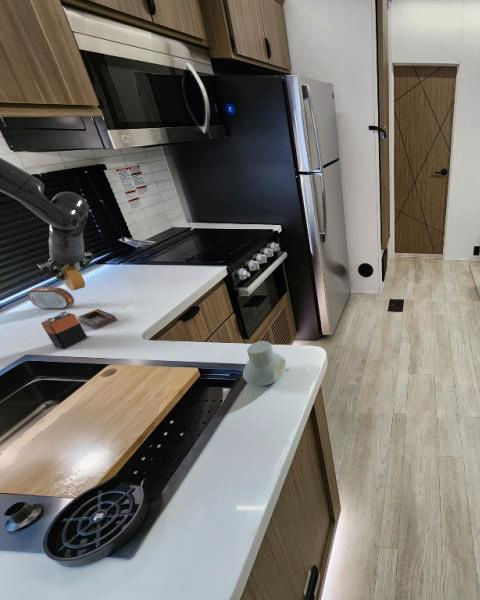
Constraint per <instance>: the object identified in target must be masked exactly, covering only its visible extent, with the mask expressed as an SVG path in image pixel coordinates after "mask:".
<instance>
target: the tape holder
mask: <svg viewBox="0 0 480 600" xmlns="http://www.w3.org/2000/svg"><path fill="white" fill-rule="evenodd" d="M96 317H100V318H102V319H100V320H97V321H94V320H92V319H94V318H96ZM76 318H77V319H78V321H79V323H80V324H83V325H86V326H88V327H90V328H93V329H95V330H98V329H101V328H103V327H105V326H107V325H110V324H113V323H114V322H117V321H118V319H117V316H116V315H114V314H111V313H109V312H106V311H105V310H102V309H99V308H97V309H94V310H91V311H89V312H86V313H84V314H81V315H79V316H76Z"/></svg>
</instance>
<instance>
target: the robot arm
mask: <svg viewBox="0 0 480 600" xmlns="http://www.w3.org/2000/svg"><path fill="white" fill-rule="evenodd" d="M44 191H45V183H44V182H43V181H42V180H41V179H39V178H37V177H36V176H33V175H32V174H30V173H28V172H27V171H25V170H23V169H21V168H19V167H18V166H16V165H15V164H13V163H11V162H9V161H7V160H5V159H4V158H1V157H0V192H1V193H3V194H5V195H7V196H8V197H11V198H13V199H15V200H16V201H18V202H19V203H21V204H22V205H23V206H24V207H25V208H27V209H28V210H30V211H31V212H32V213H34V214H35V215H36V216H37V217H39V219H41V220H42V221H44V222H45V223H47V224H48V225H49V229H48V230H49V232H48V233H49V237H48V250H49V259H48V261H47V262H45V263H43V262H37V264H36V265H37V266H38V268H39V269H40V270H41V271H42V272H43V273H45V274H46V275H48V276H50V277H51V278H53V277H54V278H56V279H57V280H58V281H60V282H63V280H64V275H63V273H64V272H66V269H67V267H71V266H74V267H75V268H76V269H77V270H78V271H79V272H80V273H81V269H86V268H87V267H88V266H89V265H90V264H91V263H92V262H93V260H94V259H95V256H94V255H93V254H92V253H91V252H90V250H87V251H85V240H84V236H85V235H84V234H85V233H84V232H85V231H84V229H85V226H86V223H87V219H88V216H89V211H90V209H89V204H88V202H87V201H86V200H85V198H84V197H82V196H81V195H79V193H78V194H77V193H75V192H73V191H62V192H61V191H60V192H59V193H57V194H56V195H54V196H53V198H52V199H51V201H50V200H49V199H48V198H47V196H45V195H44ZM52 267H53V269H52Z"/></svg>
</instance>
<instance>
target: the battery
mask: <svg viewBox="0 0 480 600" xmlns="http://www.w3.org/2000/svg"><path fill="white" fill-rule="evenodd" d="M40 324H41V326H42V329H44V331H45V333H46V334H47V336H48V338H49V339H50V341H51V343H52V344H53V345H54V348H58V349H64V350H66V349H68V348H70V347H72V346H74V345H76V344H78V343H80V342H82V341H84V340H86V339H87V338H88V336H87V334H86V332H85V330H84V328H83V327H82V325H81V322H79V320H78V318H77V316H76V314H75V313H69V312H68V311H61V312H59V313H57V315H56V316H53V317H49V318H46V319H45V320H44V321H42V322H41V323H40Z"/></svg>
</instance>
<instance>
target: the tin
mask: <svg viewBox="0 0 480 600" xmlns="http://www.w3.org/2000/svg"><path fill="white" fill-rule="evenodd" d="M26 296H27V298H28V300H29V301H30V302H31V304H32V305H33V306H35V307H37V308H40V309H44V310H65V309H68V308H69V307H71V306H73V305H74V304H75V298H74V297H73V294H71V292H69V291H68V290H66V289H64V288H62V287H59V286H58V287H57V286H55V287H54V286H50V287H49V286H48V287H47V286H37V287H34V288H33V289H31V290H29V291H28V292H27V295H26Z"/></svg>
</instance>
